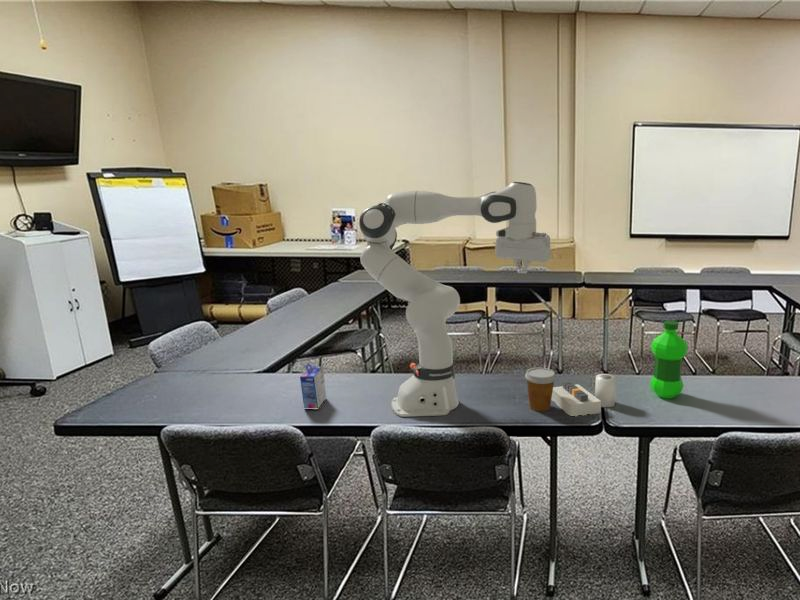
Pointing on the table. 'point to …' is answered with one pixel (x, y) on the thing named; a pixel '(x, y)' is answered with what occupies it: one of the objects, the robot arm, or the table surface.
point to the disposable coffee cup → (540, 388)
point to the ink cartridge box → (313, 386)
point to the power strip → (575, 399)
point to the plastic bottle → (668, 361)
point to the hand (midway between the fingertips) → (522, 273)
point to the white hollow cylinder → (605, 389)
